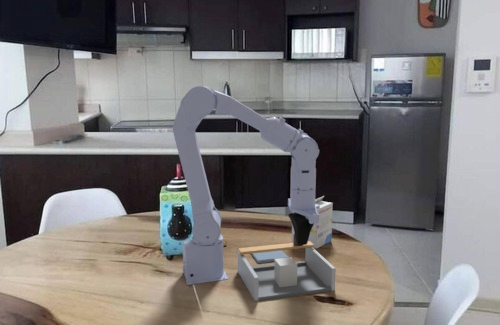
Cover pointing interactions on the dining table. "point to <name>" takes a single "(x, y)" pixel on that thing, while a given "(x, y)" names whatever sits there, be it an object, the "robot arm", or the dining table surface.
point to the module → (285, 272)
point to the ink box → (321, 225)
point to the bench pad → (269, 256)
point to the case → (308, 282)
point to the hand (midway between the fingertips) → (301, 243)
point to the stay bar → (274, 247)
